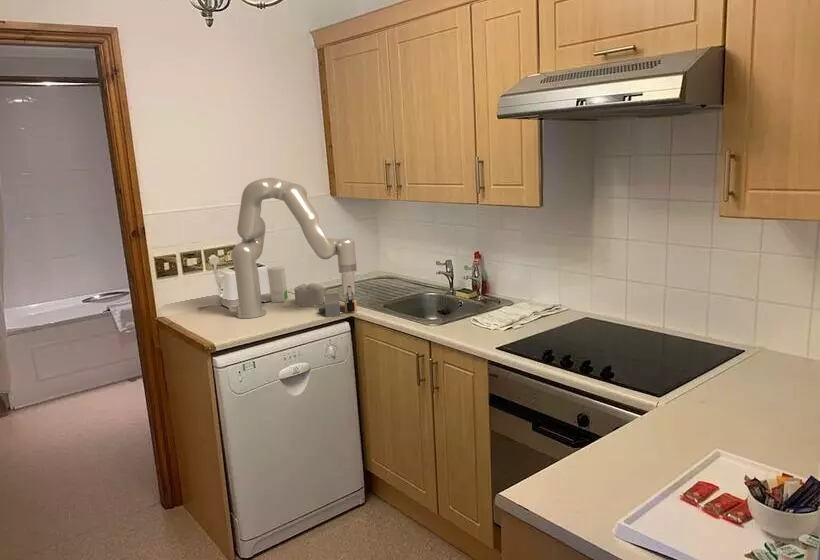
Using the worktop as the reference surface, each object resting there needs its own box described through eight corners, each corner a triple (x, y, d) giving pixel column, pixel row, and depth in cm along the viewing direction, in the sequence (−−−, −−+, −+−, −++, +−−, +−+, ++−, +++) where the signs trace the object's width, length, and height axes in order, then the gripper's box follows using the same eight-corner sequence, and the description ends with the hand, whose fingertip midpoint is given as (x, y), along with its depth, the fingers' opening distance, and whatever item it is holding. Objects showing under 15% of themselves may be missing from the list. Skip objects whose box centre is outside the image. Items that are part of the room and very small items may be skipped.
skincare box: (284, 302, 299) (281, 269, 296) (270, 303, 299) (267, 270, 296) (288, 298, 308) (285, 265, 304) (274, 298, 308) (271, 266, 305)
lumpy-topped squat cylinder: (314, 306, 288) (313, 287, 286) (290, 305, 293) (288, 286, 292) (327, 301, 297) (325, 282, 295) (303, 299, 303) (301, 281, 301)
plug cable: (318, 315, 272) (318, 305, 272) (319, 312, 276) (318, 303, 276) (357, 311, 274) (356, 302, 273) (356, 309, 278) (355, 300, 277)
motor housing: (326, 317, 268) (324, 301, 266) (326, 309, 281) (325, 294, 280) (340, 316, 268) (339, 300, 267) (340, 308, 282) (338, 293, 281)
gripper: (338, 265, 280) (341, 305, 284) (338, 272, 263) (342, 315, 267) (355, 263, 281) (358, 304, 284) (357, 271, 264) (360, 313, 268)
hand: (350, 309), depth 276 cm, fingers open, 6 cm apart
